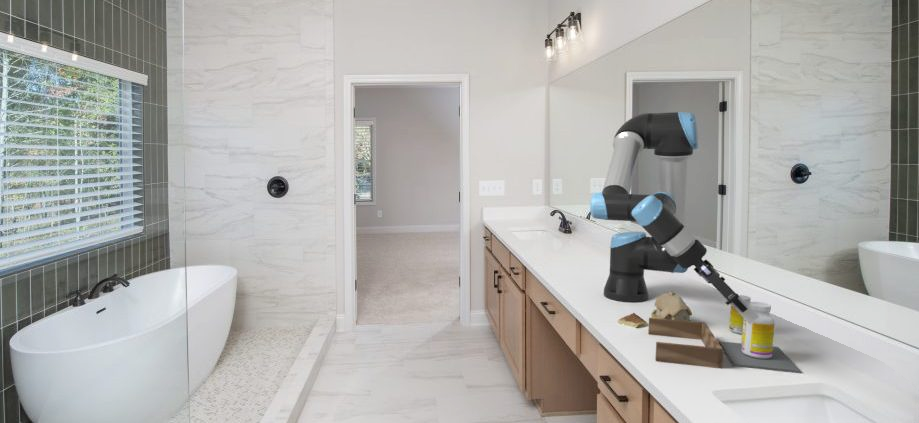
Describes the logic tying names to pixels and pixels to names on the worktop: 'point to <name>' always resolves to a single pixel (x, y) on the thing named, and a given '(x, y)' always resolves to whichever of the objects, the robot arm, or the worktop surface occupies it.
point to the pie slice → (633, 321)
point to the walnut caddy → (686, 353)
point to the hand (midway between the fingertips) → (746, 311)
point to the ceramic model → (671, 308)
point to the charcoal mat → (773, 363)
